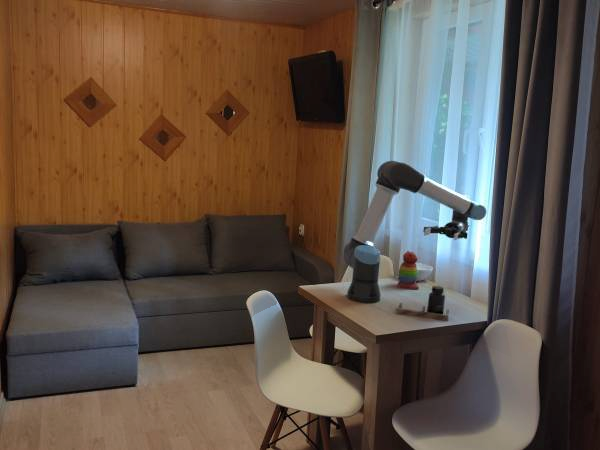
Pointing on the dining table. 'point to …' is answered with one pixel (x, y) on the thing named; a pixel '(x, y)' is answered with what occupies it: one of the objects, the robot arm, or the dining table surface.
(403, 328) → the dining table surface
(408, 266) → the stacking bear
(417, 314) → the notch rail
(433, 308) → the supplement bottle
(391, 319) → the dining table surface
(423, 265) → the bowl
